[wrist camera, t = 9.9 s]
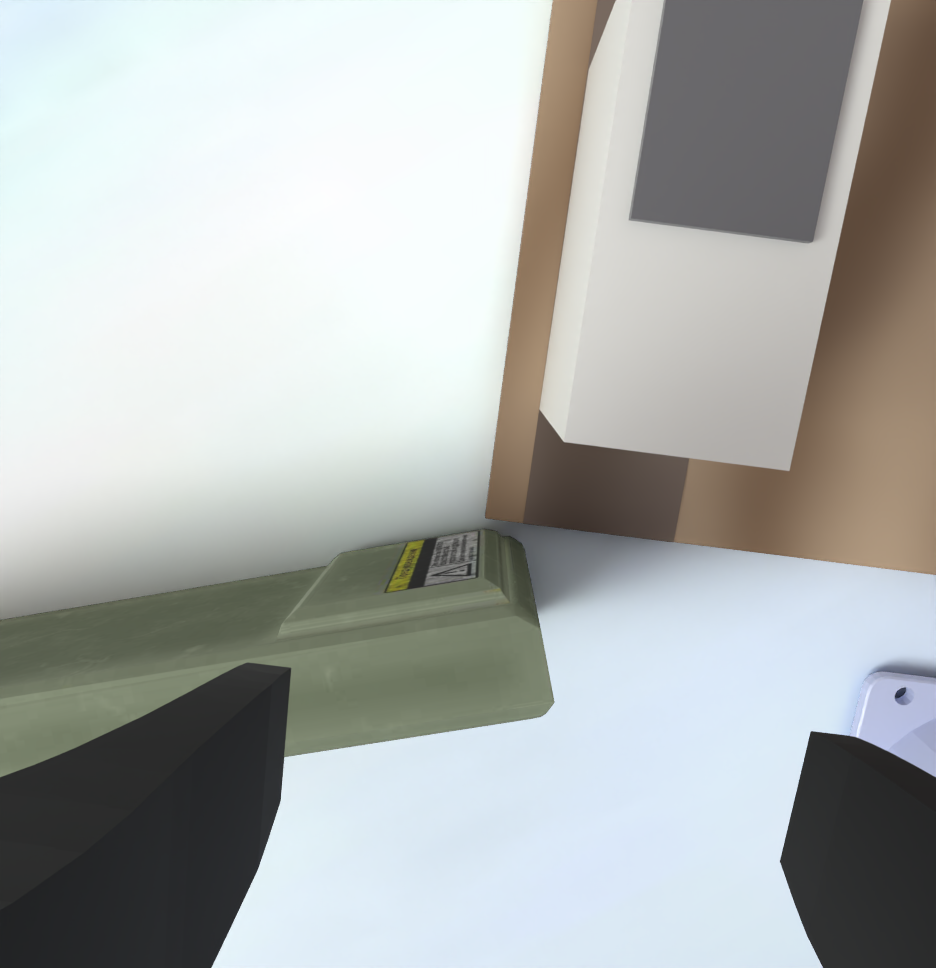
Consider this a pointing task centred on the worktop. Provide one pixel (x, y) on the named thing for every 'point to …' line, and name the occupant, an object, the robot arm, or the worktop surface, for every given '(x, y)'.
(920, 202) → the board
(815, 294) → the block
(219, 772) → the robot arm
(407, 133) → the worktop surface
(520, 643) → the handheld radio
